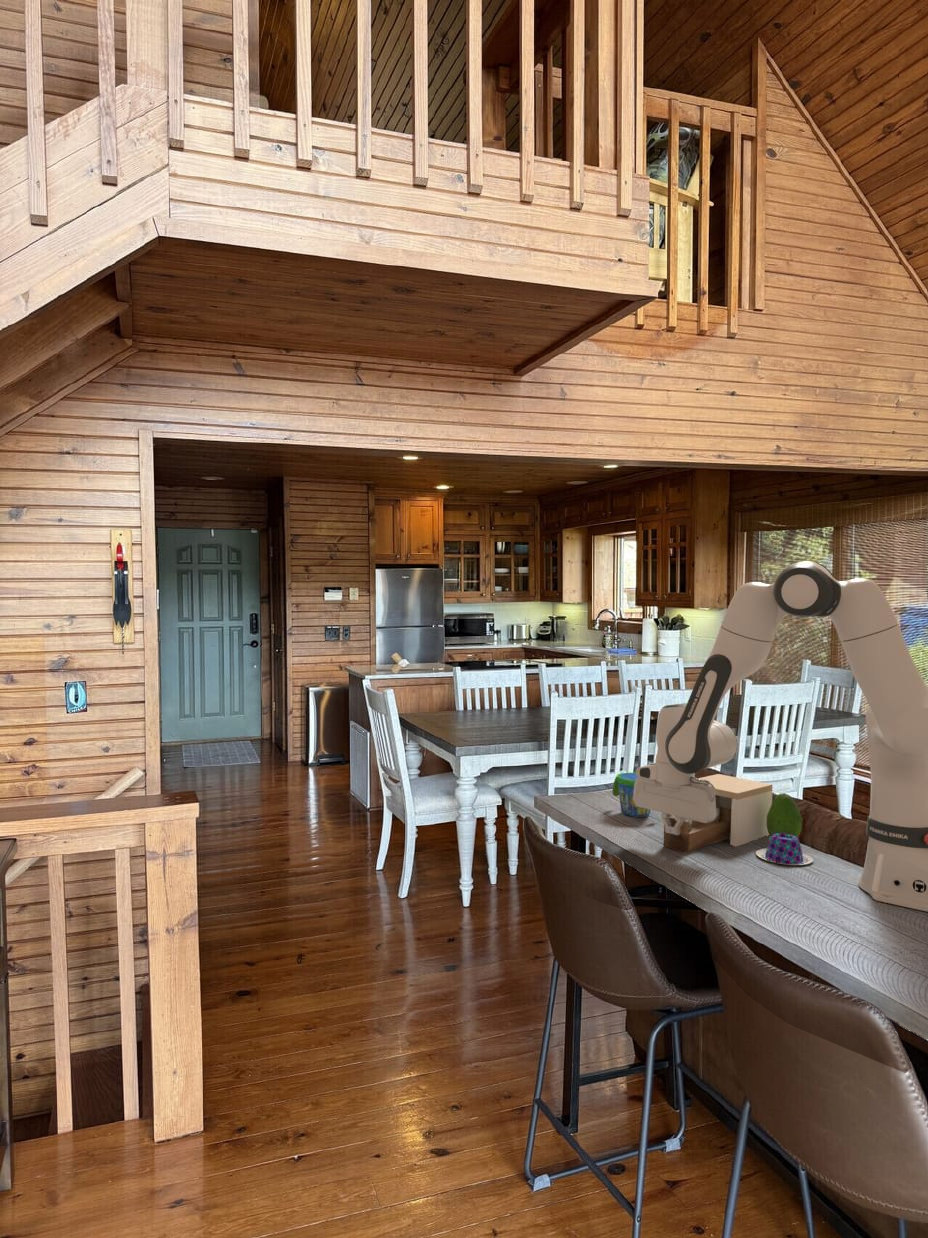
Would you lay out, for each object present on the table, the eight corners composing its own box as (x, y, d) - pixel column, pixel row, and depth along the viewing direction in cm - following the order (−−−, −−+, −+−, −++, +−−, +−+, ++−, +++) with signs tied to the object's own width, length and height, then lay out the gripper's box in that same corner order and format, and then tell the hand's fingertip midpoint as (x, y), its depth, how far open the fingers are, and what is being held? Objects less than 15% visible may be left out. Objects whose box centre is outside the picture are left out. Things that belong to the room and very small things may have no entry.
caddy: (730, 838, 201) (731, 807, 201) (685, 852, 189) (686, 819, 189) (708, 832, 206) (709, 802, 206) (663, 846, 193) (664, 814, 193)
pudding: (825, 865, 183) (826, 842, 182) (781, 870, 178) (782, 846, 178) (786, 849, 194) (787, 827, 194) (744, 854, 190) (745, 831, 190)
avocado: (767, 846, 195) (768, 795, 195) (764, 837, 203) (765, 788, 202) (803, 849, 193) (805, 798, 193) (799, 840, 201) (801, 791, 200)
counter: (770, 835, 205) (772, 784, 205) (736, 846, 194) (737, 793, 194) (716, 821, 216) (718, 774, 216) (681, 832, 206) (682, 781, 205)
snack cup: (670, 819, 217) (672, 780, 217) (639, 823, 212) (640, 784, 212) (632, 805, 231) (633, 769, 231) (601, 809, 226) (602, 772, 226)
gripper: (723, 780, 184) (720, 842, 185) (646, 764, 200) (644, 821, 200) (707, 783, 180) (705, 847, 180) (630, 767, 195) (628, 826, 196)
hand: (672, 833), depth 190 cm, fingers closed
